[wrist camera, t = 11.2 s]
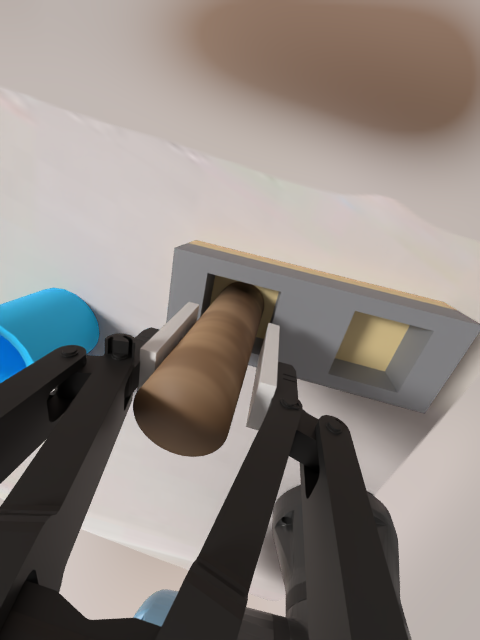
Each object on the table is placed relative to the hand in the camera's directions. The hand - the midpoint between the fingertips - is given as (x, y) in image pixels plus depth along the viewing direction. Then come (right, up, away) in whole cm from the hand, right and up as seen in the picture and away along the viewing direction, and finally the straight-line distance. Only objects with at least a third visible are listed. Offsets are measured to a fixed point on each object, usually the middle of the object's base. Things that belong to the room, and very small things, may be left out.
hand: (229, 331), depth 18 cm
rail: (+6, +2, +7) cm, 9 cm away
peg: (+1, +2, +5) cm, 6 cm away
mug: (-21, +1, +12) cm, 24 cm away
